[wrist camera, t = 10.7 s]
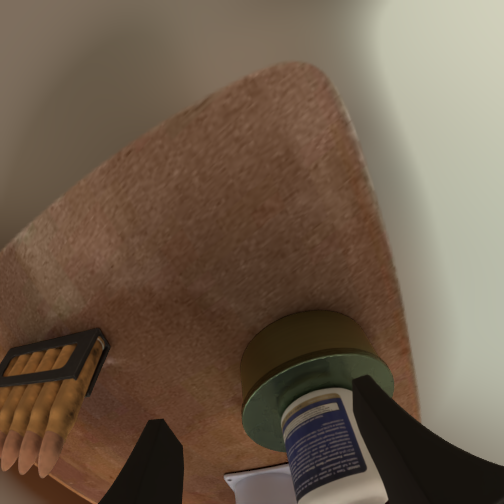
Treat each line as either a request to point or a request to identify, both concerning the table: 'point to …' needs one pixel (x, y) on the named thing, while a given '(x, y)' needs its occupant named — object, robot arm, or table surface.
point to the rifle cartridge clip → (45, 396)
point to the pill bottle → (329, 451)
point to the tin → (302, 368)
